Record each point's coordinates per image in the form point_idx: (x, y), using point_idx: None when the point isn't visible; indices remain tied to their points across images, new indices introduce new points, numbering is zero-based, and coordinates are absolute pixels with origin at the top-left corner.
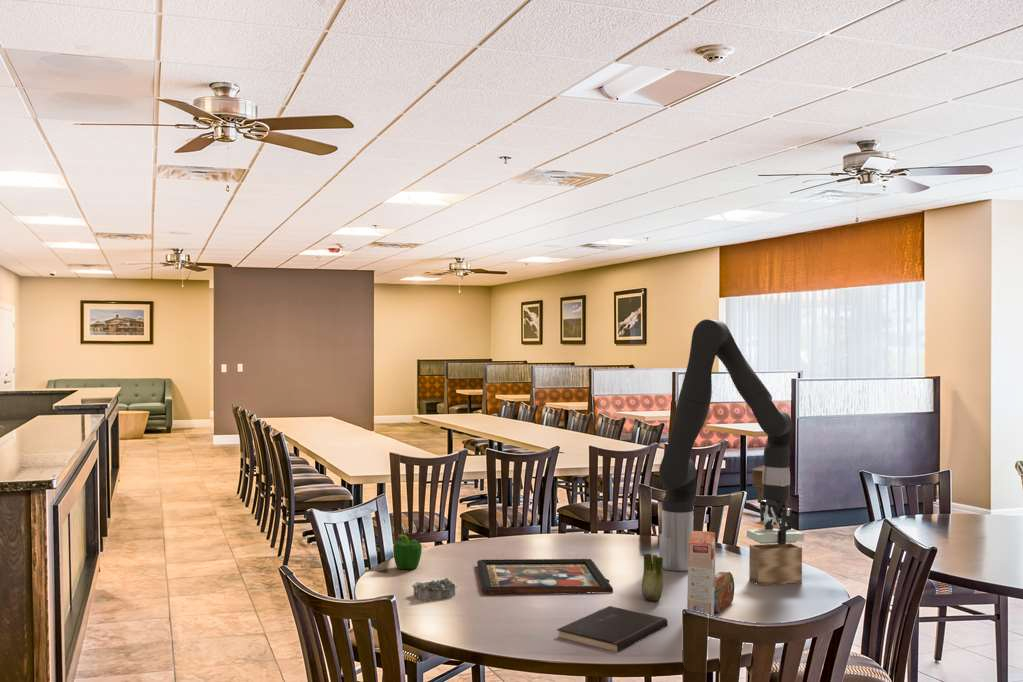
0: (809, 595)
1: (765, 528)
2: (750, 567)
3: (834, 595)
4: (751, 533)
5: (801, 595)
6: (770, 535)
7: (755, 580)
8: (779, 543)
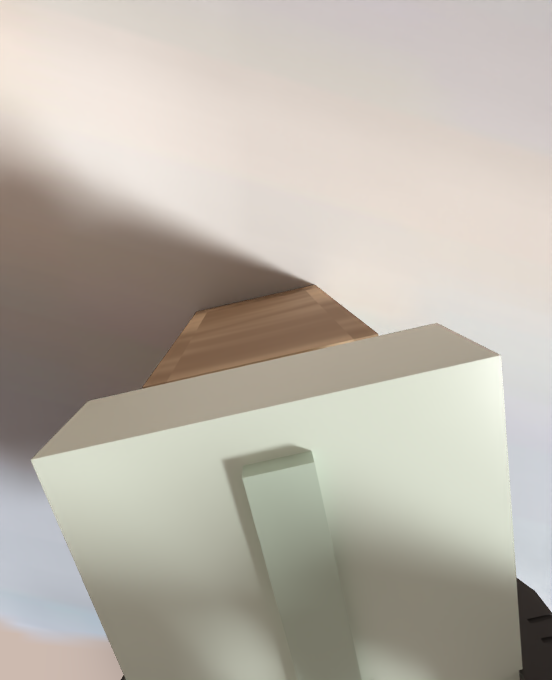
0: (32, 511)
1: (540, 676)
2: (314, 299)
3: (52, 612)
4: (298, 387)
5: (25, 475)
6: (123, 642)
7: (242, 304)
8: None
